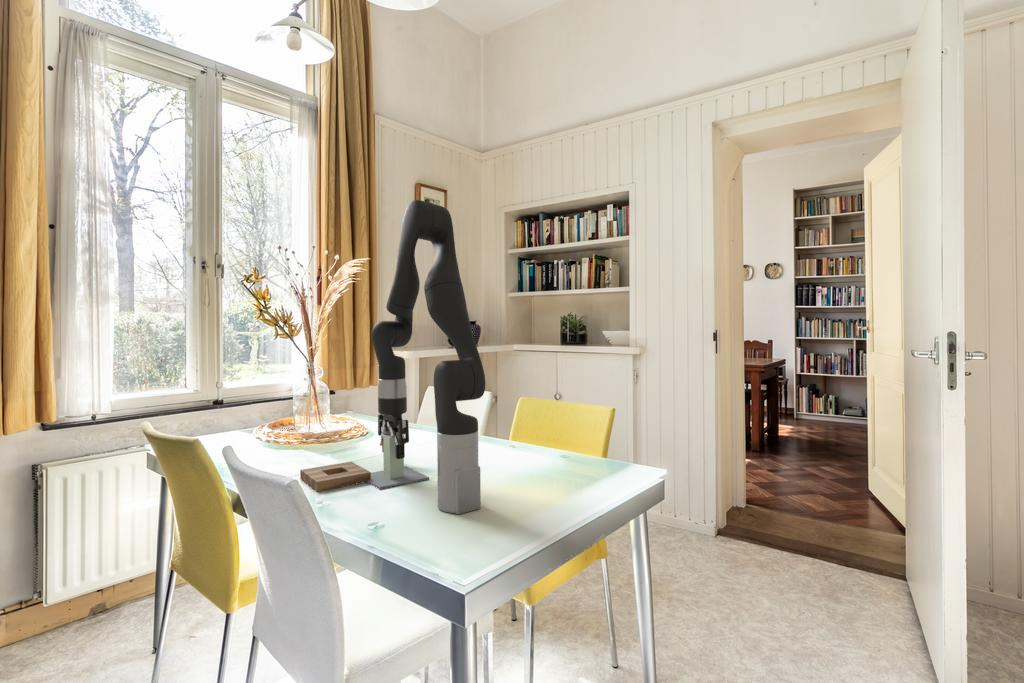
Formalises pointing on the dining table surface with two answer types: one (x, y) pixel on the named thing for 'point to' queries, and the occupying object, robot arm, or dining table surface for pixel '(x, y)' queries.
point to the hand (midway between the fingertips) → (393, 455)
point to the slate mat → (384, 482)
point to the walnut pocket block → (334, 476)
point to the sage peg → (391, 459)
